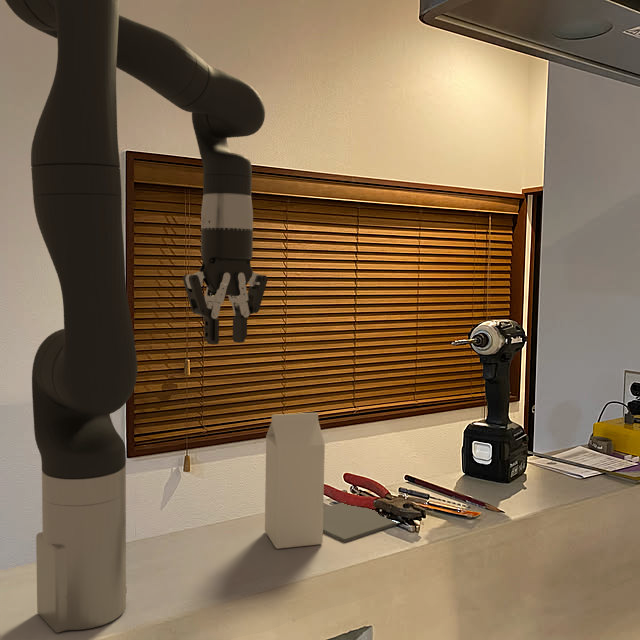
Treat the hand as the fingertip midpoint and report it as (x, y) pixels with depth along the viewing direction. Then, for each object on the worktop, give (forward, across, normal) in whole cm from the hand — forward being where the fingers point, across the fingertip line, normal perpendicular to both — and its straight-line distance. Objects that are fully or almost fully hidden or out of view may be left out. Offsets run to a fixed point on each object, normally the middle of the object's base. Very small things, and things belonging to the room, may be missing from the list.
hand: (226, 342), depth 106 cm
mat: (+29, +21, -8) cm, 37 cm away
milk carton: (+29, +7, -8) cm, 31 cm away
